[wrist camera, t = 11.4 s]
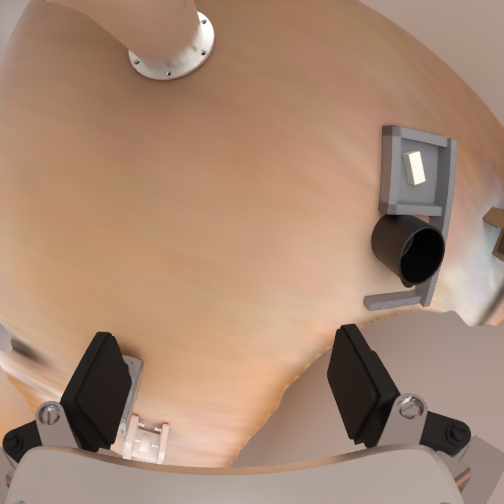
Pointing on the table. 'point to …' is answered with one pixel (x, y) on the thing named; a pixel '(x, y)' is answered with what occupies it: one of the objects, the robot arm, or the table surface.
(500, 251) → the photo frame
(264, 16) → the table surface
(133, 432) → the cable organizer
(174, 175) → the table surface
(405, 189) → the organizer
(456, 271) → the table surface
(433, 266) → the mug
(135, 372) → the circuit breaker
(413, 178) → the eraser
